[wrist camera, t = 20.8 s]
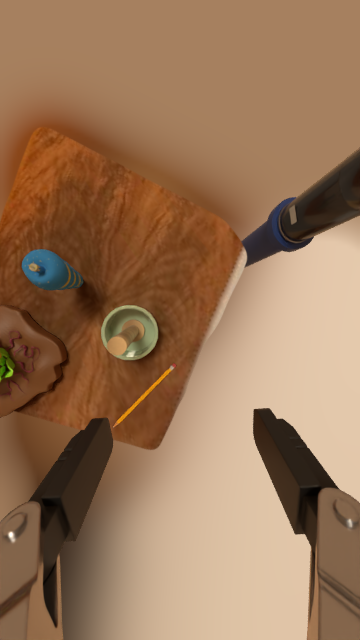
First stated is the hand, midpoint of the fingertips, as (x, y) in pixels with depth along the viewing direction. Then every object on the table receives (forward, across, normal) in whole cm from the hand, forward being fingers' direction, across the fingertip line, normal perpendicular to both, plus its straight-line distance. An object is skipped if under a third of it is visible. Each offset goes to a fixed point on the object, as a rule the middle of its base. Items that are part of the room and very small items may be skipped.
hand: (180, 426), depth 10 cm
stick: (+27, +10, +2) cm, 29 cm away
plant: (+23, +35, +5) cm, 42 cm away
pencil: (+25, +9, +17) cm, 32 cm away
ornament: (+28, +19, -9) cm, 35 cm away
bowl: (+27, +10, +2) cm, 29 cm away
